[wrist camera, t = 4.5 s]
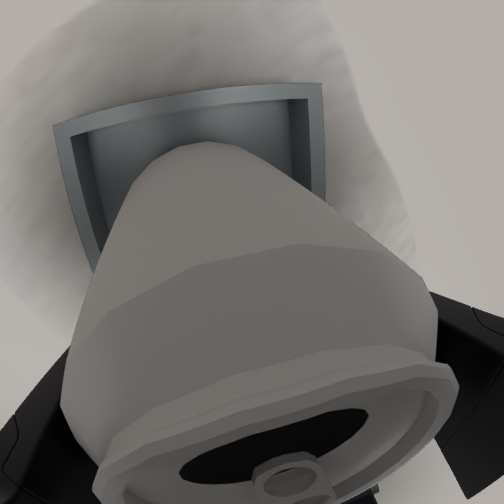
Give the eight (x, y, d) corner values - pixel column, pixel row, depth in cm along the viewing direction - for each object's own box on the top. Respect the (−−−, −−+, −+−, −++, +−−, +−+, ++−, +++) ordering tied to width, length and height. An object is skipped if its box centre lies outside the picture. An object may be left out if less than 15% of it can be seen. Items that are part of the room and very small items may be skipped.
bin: (302, 272, 20) (322, 299, 17) (125, 308, 18) (121, 341, 15) (295, 84, 14) (321, 82, 12) (73, 120, 12) (52, 125, 10)
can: (262, 117, 12) (555, 220, 2) (296, 260, 16) (438, 461, 6) (97, 176, 12) (-64, 436, 1) (162, 309, 16) (186, 551, 5)
